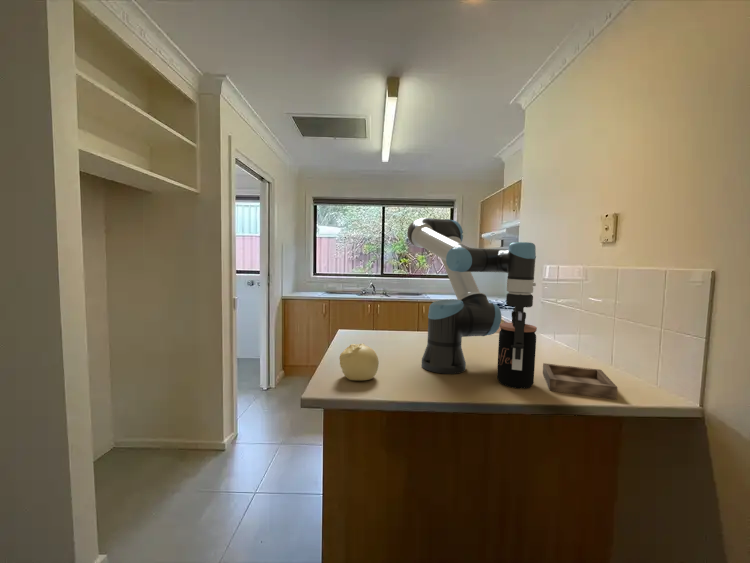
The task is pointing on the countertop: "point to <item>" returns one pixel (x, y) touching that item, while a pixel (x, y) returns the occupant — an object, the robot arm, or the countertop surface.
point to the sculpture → (359, 362)
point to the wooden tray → (579, 381)
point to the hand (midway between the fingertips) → (515, 364)
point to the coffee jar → (506, 353)
